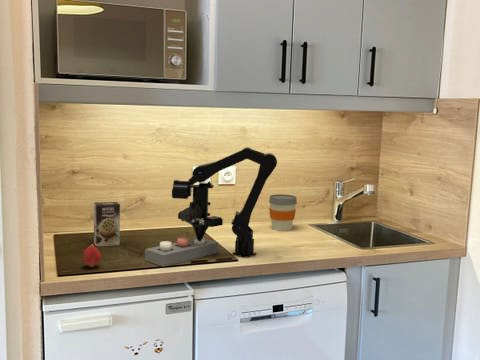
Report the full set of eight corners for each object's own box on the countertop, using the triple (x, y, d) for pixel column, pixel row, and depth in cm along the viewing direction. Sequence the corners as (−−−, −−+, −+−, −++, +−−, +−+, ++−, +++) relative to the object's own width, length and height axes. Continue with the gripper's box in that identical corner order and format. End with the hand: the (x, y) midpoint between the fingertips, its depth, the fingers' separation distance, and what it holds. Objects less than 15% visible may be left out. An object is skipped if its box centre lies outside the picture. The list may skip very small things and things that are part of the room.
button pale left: (173, 251, 181) (173, 242, 181) (164, 253, 178) (164, 244, 178) (166, 248, 184) (166, 240, 183) (157, 250, 181) (157, 242, 180)
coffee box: (96, 246, 196) (95, 205, 194) (93, 242, 202) (93, 202, 199) (120, 245, 199) (120, 204, 197) (117, 241, 205) (117, 201, 203)
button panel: (217, 252, 193) (218, 242, 193) (163, 266, 174) (163, 255, 174) (199, 247, 200) (199, 237, 200) (145, 260, 181) (145, 249, 181)
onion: (79, 268, 170) (78, 244, 169) (90, 263, 175) (89, 240, 174) (93, 270, 168) (93, 247, 166) (104, 266, 173) (104, 242, 172)
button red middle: (190, 247, 187) (190, 239, 186) (182, 249, 184) (182, 240, 184) (183, 244, 190) (183, 236, 189) (175, 246, 187) (175, 238, 186)
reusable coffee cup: (262, 228, 236) (263, 195, 234) (280, 224, 245) (282, 193, 243) (282, 233, 227) (284, 199, 225) (301, 229, 236) (302, 197, 234)
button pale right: (206, 248, 193) (206, 240, 193) (198, 250, 190) (198, 242, 190) (199, 246, 196) (199, 238, 195) (191, 248, 193) (191, 240, 192)
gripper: (167, 198, 191) (166, 239, 193) (201, 205, 178) (200, 249, 180) (189, 195, 199) (188, 234, 201) (224, 202, 186) (223, 244, 188)
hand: (199, 240), depth 192 cm, fingers closed, pressing on button pale right
